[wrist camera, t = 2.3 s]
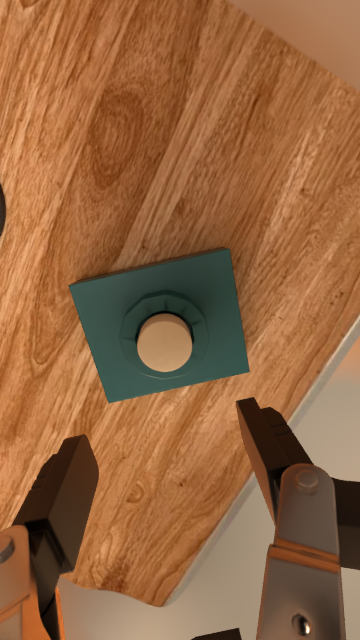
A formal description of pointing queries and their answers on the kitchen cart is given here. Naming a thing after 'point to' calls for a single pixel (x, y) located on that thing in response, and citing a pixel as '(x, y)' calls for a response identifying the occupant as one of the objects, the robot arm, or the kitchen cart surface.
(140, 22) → the kitchen cart surface
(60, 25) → the kitchen cart surface
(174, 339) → the button
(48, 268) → the kitchen cart surface
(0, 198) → the coaster
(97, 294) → the push button base
